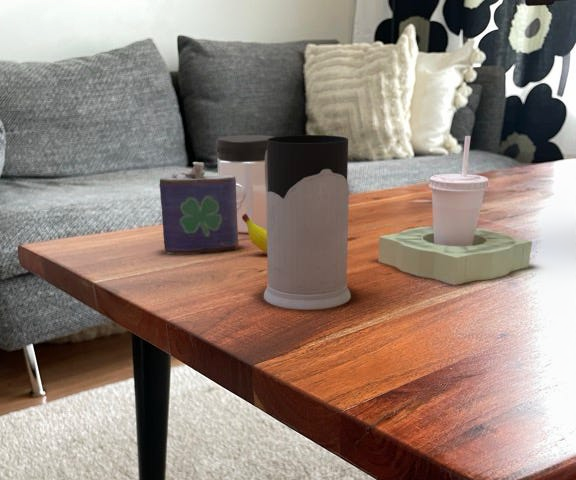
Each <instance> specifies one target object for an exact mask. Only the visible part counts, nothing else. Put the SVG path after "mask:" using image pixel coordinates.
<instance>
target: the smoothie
mask: <svg viewBox="0 0 576 480" xmlns="http://www.w3.org/2000/svg"><path fill="white" fill-rule="evenodd" d="M470 145H471V135H465V136H464V146H463V156H462V157H463V158H462V166H461V167H462V168H461V173H441V174H435V175H432V176H430V177H429V184H428V187H429V188H430V189H431V205H432V225H433V226H432V227H433V229H434V244H438V245H446V246H472V244H473V240H474V235H475V231H476V228H477V226H478V222H479V218H480V213H481V208H482V204H483V199H484V195H485V192H486V190H489V189H488V188H489V178H488V177H486V176H484V175H478V174H468V167H469V155H470Z"/></svg>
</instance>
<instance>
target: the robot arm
mask: <svg viewBox="0 0 576 480" xmlns="http://www.w3.org/2000/svg"><path fill="white" fill-rule="evenodd" d="M563 1H567V0H524V5H525V6H527V7H535V6H536V7H537V6H539V7H540V6H552V5H554V4H555V2H563Z"/></svg>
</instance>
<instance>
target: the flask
mask: <svg viewBox="0 0 576 480" xmlns="http://www.w3.org/2000/svg"><path fill="white" fill-rule="evenodd" d="M204 163H205V162H201V161H200V162H199V161H194V162H192V165H193V167H192V169H191V170H190V171H188V172H180V173H176V172H173V173H172V174H171V176H164V177H163V176H162V177H161V178H159V184H158V185H159V186H158V187H159V192H160V193H159V194H160V196H159V199H160V205H161V217H162V218H161V219H162V230H163V231H162V235H163V245H164V250H165V254H166V255H197V254H203V253H208V254H210V253H219V252H230V251H236V250H238V249H239V233H238V226H237V201H236V180H235V179H236V178H235V176H233V175H218V174H217V175H205V173H206V171H205V170H204V169H203V167H205V164H204ZM180 174H181V175H182V176H181V175H180Z"/></svg>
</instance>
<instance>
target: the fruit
mask: <svg viewBox="0 0 576 480" xmlns="http://www.w3.org/2000/svg"><path fill="white" fill-rule="evenodd" d="M242 219H243V220H244V222H246V224H247V226H248V232H249V233H248V237H249V239H250V241H251V243H252V244H253V245H254V246H255V247H256V248H258V249H259V250H261V251H262V252H265V253H267V230H265V229H263V228H261V227H260V226H258V225H256V224H254V223H253V222H252V221H251V220H250V219H249V217H248V216H247V214H244V215H243V216H242Z"/></svg>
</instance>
